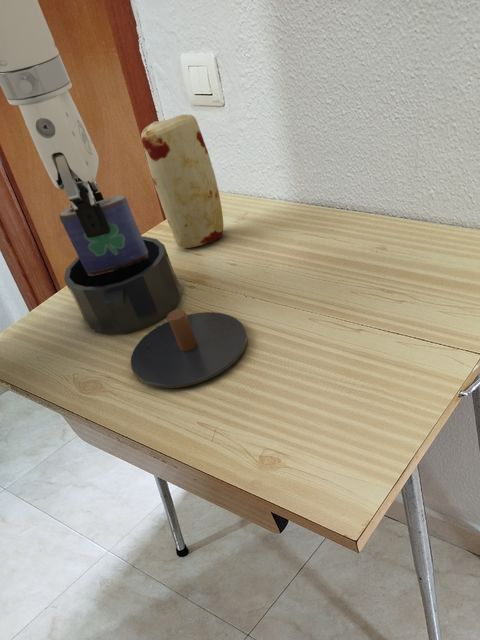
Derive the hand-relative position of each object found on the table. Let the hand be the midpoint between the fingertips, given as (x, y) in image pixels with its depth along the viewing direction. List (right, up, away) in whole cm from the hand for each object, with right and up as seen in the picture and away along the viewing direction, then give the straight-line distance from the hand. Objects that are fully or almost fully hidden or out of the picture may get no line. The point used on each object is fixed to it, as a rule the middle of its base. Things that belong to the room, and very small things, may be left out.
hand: (99, 227), depth 81 cm
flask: (+1, -4, +4) cm, 6 cm away
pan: (+2, -9, +9) cm, 13 cm away
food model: (+10, +5, +21) cm, 24 cm away
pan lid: (+13, -17, -3) cm, 22 cm away
